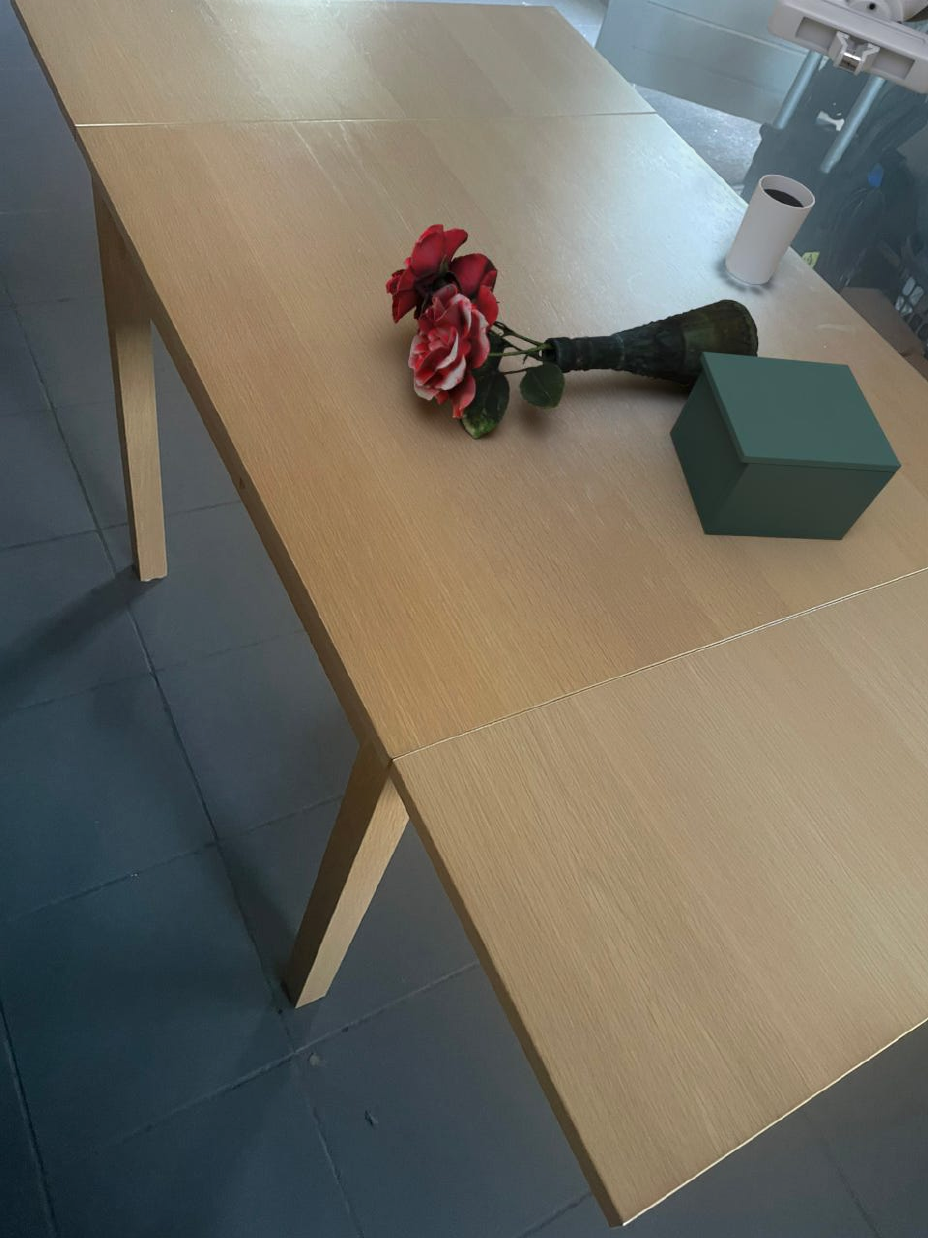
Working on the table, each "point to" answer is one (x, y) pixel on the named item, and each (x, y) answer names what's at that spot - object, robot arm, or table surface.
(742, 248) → the white cup
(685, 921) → the table surface
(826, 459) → the lid
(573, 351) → the vase with roses
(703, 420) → the chest
